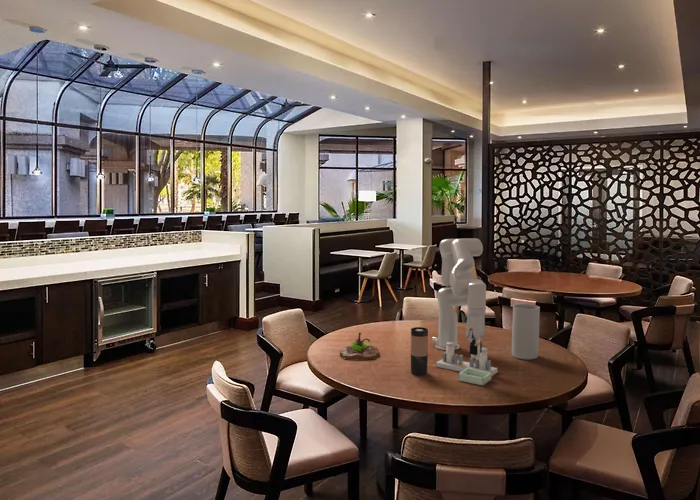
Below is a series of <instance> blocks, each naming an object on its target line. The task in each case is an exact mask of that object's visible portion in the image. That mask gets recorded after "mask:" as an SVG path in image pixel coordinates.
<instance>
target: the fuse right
mask: <svg viewBox="0 0 700 500" xmlns="http://www.w3.org/2000/svg"><path fill="white" fill-rule="evenodd" d="M488 351H489V350H488V347H482V352H481V353H480V358H479V369H481V370H486V369H487V361H488Z"/></svg>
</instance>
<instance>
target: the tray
mask: <svg viewBox="0 0 700 500" xmlns="http://www.w3.org/2000/svg"><path fill="white" fill-rule="evenodd" d="M492 377H493V376H492V373H490V372H485V371H480V370H475V369H470V368H467V369H465V370H463V371H462V372H458V378H457V379H458V381H461V382H465V383H469V384H474V385H478V386H483V387H484V386H485V385H486V384H488V383H489V382H490V381H492Z"/></svg>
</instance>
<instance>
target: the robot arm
mask: <svg viewBox="0 0 700 500" xmlns="http://www.w3.org/2000/svg"><path fill="white" fill-rule="evenodd" d="M438 247H439V252H440V255H441V262H442V263H441V277H440V278H441V284H442V285H443V286H445V287H441V288H439V289H438V291H437V294H436V296H437V305H438V306H437V307H438V335H437V337H435V336H432V338H431V342H434V343H435V349H438V350H442V351H446V343H447V342H453V343H455V345H454V351H457V350H459V349H460V348H461V346H460V344H458V314H457V311H456V310H455V309H454V308H453V307H463V306H464V307H465V306H467V310H466V311H467V312H466V313H467V314H466V315H467V317H466V325H465V326H466V327H465V338H466V339H467V341H468V342H469V355H471V354H472V355H477V348H478V346H477V339H478V338H479V337H480V353H481V352H482V348H483V347H482V343H483V336H484V335H485V332H486V322H485V321H486V320H485V319H486V318H485V316H486V314H487V313H486V309H487V308H486V306H487V305H486V304H487V302H486V301H487V298H486V297H487V285H486V283H485V282H484V281H483V280H481V279H478V278H477V279H475V278H474V276H473V272H472V269H473V268H474V267H475V263H476V262H475V259H474V257H480V256H481V255H482V254H483V251H484V247H483V243H482V241H481V239H480V238H477V237H476V238H475V237H473V238H468V237H467V238H445V239H442V240H441V241H440V243H439V246H438ZM473 337H474V338H473ZM474 340H475V342H474Z"/></svg>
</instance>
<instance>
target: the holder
mask: <svg viewBox="0 0 700 500" xmlns="http://www.w3.org/2000/svg"><path fill="white" fill-rule="evenodd" d="M435 367H437V368H442V369H446V370H451V371H454V372H455V371H456V372H458V373H460V372H462V371H463V370H465V369H467V368H470V369H475V370H480V371H485V372H490V373H492V377H493V376H494V375H495V374H497V373H498V367H494V366H492V360H491V359H489V360H488V359H487V369H486V370H481V369H479V358H472V357H469V361H464V355H463V354H460V355H459V354H458V353H454V356H453V363H447V362H446V351H444V352H442V358H441V359H440V360H438V361H436V362H435Z"/></svg>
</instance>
